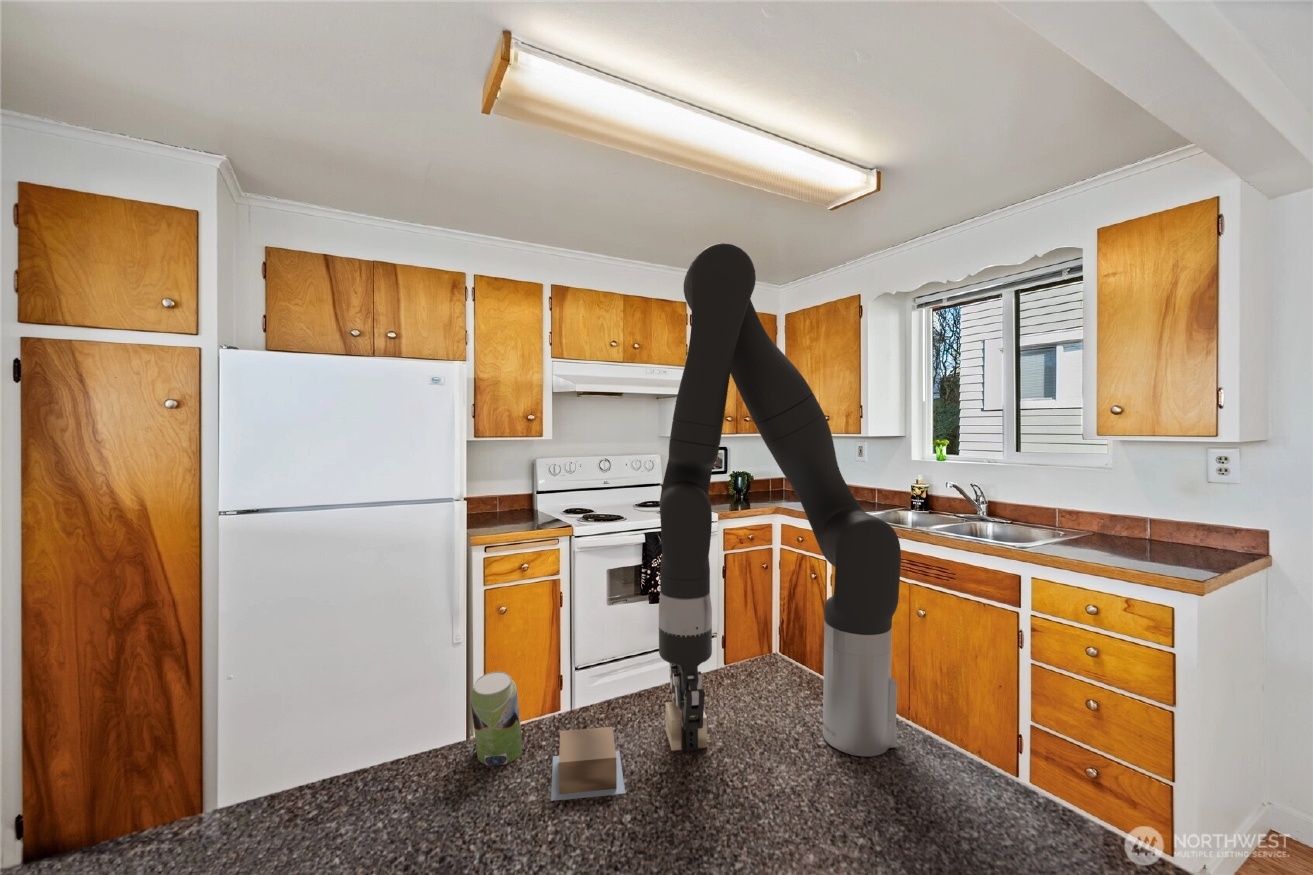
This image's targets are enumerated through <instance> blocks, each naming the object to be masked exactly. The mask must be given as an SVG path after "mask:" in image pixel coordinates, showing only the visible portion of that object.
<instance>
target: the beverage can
mask: <svg viewBox="0 0 1313 875" xmlns="http://www.w3.org/2000/svg"><path fill="white" fill-rule="evenodd" d="M511 676H512V675H510V674H509V673H507V672H504V671H492V672H489V673H485V674H483V675H481V676H480V677H479V678H477V679H476V681H474V684H473V688H472V690H471V692H470V697H469V698H470V706H471V707H470V708H471V714H472V723H473V730H474V732H473V733H474V738H475V748H476V756H477V759H478V761H479V762H480V763H481V764H484V765H487V766H491V767H493V766H497V767H498V766H502V765H506V764H510V763H511V762H514V761H515V760H517V759H518V758H520V756H521V754H522V753H523V747H524V746H523V738H522V737H523V736H522V726H521V718H520V716H521V715H520V707H519V697H518V690H517V688H518V687H517V685H516V683H515V681H514V680H513V679H512V677H511ZM518 726H520V727H518Z"/></svg>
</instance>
